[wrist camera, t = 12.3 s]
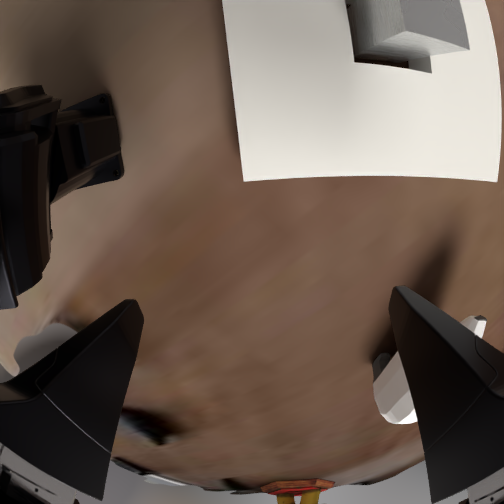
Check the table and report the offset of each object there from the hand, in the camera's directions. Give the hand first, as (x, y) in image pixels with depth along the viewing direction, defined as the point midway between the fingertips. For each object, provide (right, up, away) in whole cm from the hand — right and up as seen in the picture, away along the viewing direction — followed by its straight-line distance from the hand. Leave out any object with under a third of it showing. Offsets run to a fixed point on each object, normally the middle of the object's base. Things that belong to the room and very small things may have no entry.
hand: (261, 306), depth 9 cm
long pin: (+7, +16, +3) cm, 17 cm away
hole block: (+7, +16, +3) cm, 17 cm away
